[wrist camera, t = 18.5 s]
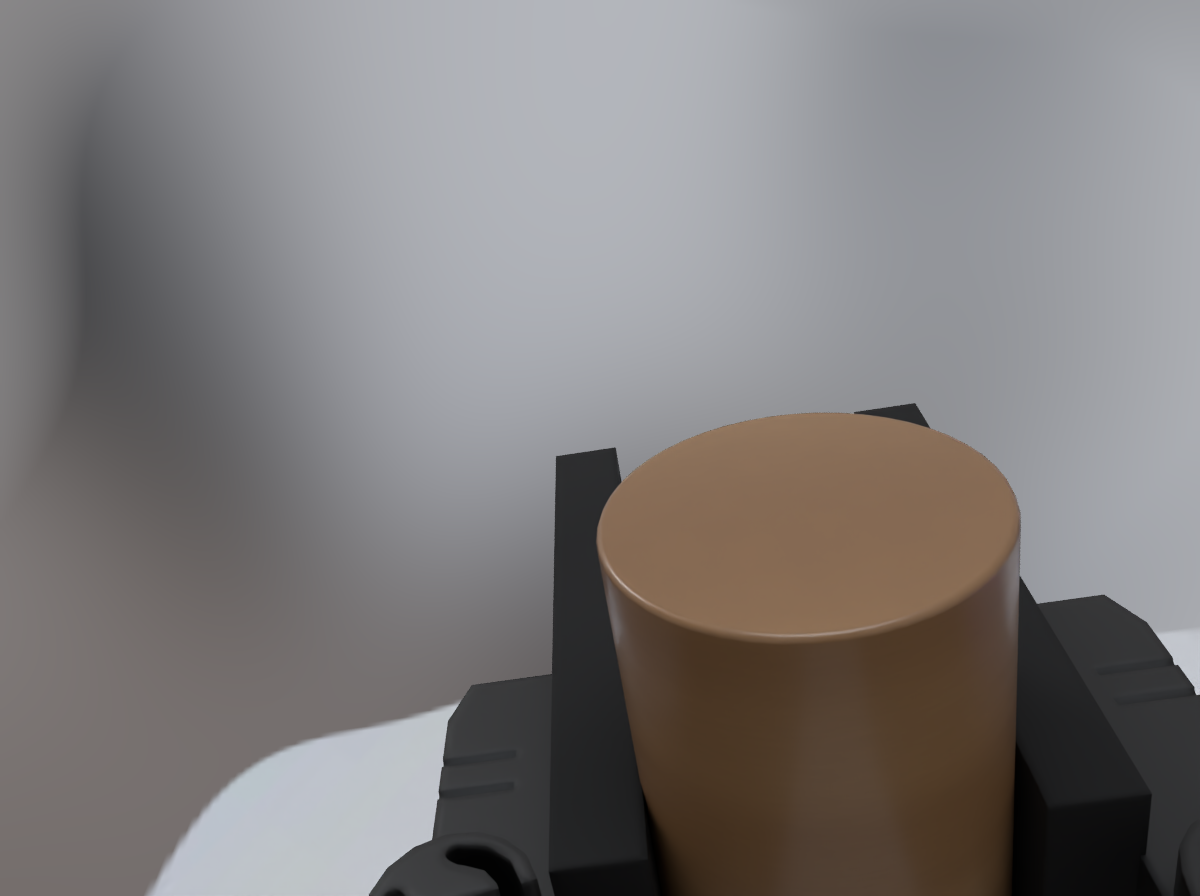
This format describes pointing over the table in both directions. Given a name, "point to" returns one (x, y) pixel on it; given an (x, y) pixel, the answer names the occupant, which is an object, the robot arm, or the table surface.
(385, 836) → the table surface
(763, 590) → the wooden rubber stamp
